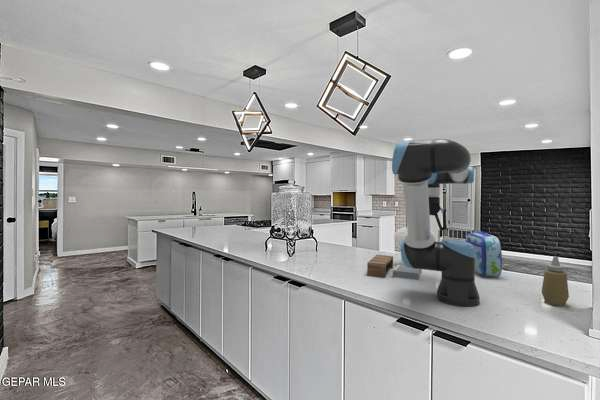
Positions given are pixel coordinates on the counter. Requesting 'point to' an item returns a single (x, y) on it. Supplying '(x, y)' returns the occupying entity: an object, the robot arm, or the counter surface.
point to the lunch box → (486, 253)
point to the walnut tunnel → (379, 265)
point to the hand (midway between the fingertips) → (431, 242)
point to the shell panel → (406, 272)
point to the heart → (403, 237)
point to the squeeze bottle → (555, 284)
